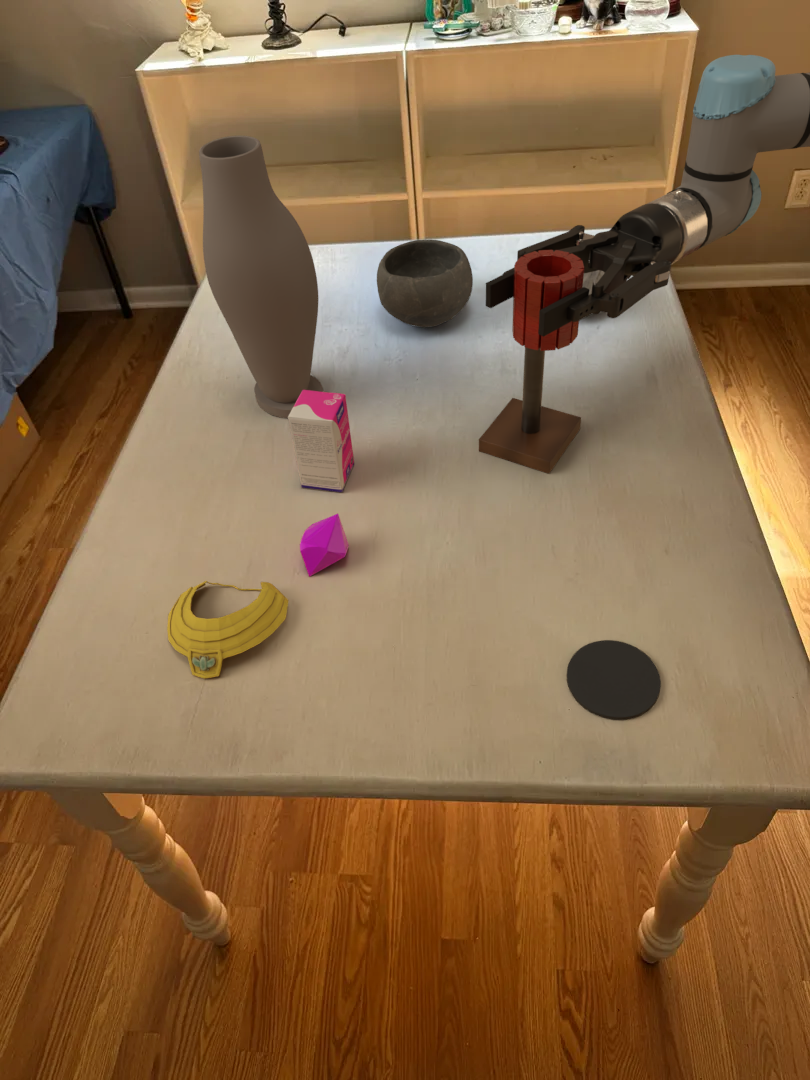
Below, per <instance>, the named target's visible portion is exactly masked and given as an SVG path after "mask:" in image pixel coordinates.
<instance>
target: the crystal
mask: <svg viewBox="0 0 810 1080" xmlns="http://www.w3.org/2000/svg"><path fill="white" fill-rule="evenodd" d="M349 546H350V544H349V541H348V538H347V535H346V531H345V529H344V526H343V524H342V520H341V518H340V515H339V513H336V514H332V515H331V516H328V517H325V518H323V519H320V520H319V521H316V522H314V523H312V524H310V525H309V526H307V528H306V529H304V532H303V533H302V536H301V538H300V543H299V551H300V555H301V558H302V560H303V563H304V566H305V569H306V572H307V574H308V577H309V578H311V576H313V575H315V574H317V573H319V572H320V571H322V570H324V569H326V568H328V567H330V566H331V565H333V564H335V563H337V562H338V561H340V560H342V559H344V558H345V557H346V555H347V552H348V550H349Z"/></svg>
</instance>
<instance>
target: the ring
mask: <svg viewBox="0 0 810 1080" xmlns="http://www.w3.org/2000/svg"><path fill="white" fill-rule="evenodd" d="M513 268H514V293H513V297H512V327H511V328H512V338H513V340H514V341H516V342H517V343H518V344H519V345H520V346H521V347H524V348H525V347H526V348H530V349H534V350H539V349H540V350H541V351H545V352H546V351H556V350H561V349H563V348H566V347H568V346H570V345H571V344H573V342H575V340H576V339H577V337H578V334H579V325H580V321H577V322H572V321H571V322H569V323H568V324H566V325H564V326H562V327H560V328H558V329H557V330H555V331H553V332H551V333H549V334H548V335H546V336H544V337H543V336H541V335H539V334H538V329H539V312H540V310H541V309H543V308H545V307H547V306H549V305H551V304H553V303H555V302H556V301H558V300H560V299H562V298H564V297H566V296H568V295H570V294H572V293H573V292H575V291H577V290H579V289H581V288H582V287H583V277H584V265H583V261H582V260H581V259H580V258H579V257H577V256H576V255H574V254H572V253H571V254H569V252H564V251H559V250H555V251H554V252H553V250H539V251H538V252H536V251H534V252H531V253H528V254H525V255H523V257H520V258H519V259H518V260H517V259H516V261H515V262H514V266H513Z"/></svg>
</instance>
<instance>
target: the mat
mask: <svg viewBox="0 0 810 1080" xmlns="http://www.w3.org/2000/svg"><path fill="white" fill-rule="evenodd" d="M655 664H656V663H654V661H653V660H652V659H651V657H649V656H648V655H647V654H646V653H645V652H644V651H642V650H641V649H639V648H638V647H636V646H634V645H632V644H630V643H627V642H624V641H619V640H613V639H612V640H611V639H604V640H597V641H592V642H589V643H587V644H585V645H583V646H581V647H580V648H579V649H578V650H576V651H575V653H574V654H572V657H571V658H570V659H569V662H568V664H567V668H566V682H567V686H568V690H569V692H570V693H571V696H572V697H573V699H574V700H575V701H576V702H577V703H578V704H579V705H580V706H581V707H583V709H585V710H586V711H587V712H589V713H592V714H593V715H595V716H598V717H601V718H604V719H608V720H613V721H614V720H616V721H624V720H625V721H626V720H630V719H634V718H637V717H640V716H641V715H645V713H647V712H649V711H650V710H651V709H652V708H653V706H654V705H655V704H656V702H657V700H658V698H659V695H660V692H661V686H662V685H661V684H662V683H661V682H662V681H661V676H660V672H659V670H658V668H657V666H656V665H655Z"/></svg>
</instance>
